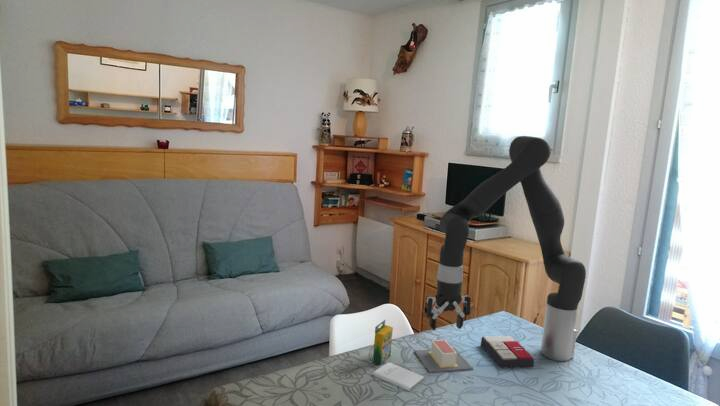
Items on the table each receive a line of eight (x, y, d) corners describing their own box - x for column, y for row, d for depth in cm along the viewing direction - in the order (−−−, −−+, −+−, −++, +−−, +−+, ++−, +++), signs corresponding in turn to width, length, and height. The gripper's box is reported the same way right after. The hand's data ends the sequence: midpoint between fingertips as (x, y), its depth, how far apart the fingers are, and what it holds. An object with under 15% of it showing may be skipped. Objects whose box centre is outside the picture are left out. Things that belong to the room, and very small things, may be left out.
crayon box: (381, 365, 134) (383, 329, 133) (372, 363, 136) (374, 327, 134) (391, 356, 141) (393, 321, 139) (382, 353, 142) (384, 319, 140)
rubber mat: (454, 349, 148) (454, 347, 148) (472, 369, 135) (473, 367, 135) (414, 351, 144) (414, 350, 144) (429, 372, 132) (429, 370, 132)
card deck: (455, 365, 136) (456, 352, 136) (441, 366, 135) (442, 353, 134) (443, 351, 145) (444, 339, 144) (430, 352, 144) (431, 340, 143)
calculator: (502, 358, 137) (481, 334, 151) (500, 371, 138) (480, 346, 152) (535, 357, 139) (511, 333, 153) (533, 369, 139) (509, 345, 154)
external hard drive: (409, 393, 122) (372, 376, 129) (424, 381, 128) (388, 366, 136) (410, 388, 121) (373, 371, 129) (425, 376, 128) (389, 361, 135)
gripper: (432, 283, 131) (429, 335, 133) (477, 281, 134) (472, 332, 137) (423, 275, 138) (420, 324, 140) (465, 273, 141) (461, 322, 144)
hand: (446, 328), depth 138 cm, fingers open, 8 cm apart
